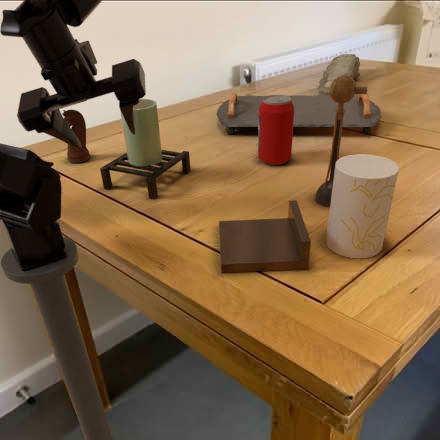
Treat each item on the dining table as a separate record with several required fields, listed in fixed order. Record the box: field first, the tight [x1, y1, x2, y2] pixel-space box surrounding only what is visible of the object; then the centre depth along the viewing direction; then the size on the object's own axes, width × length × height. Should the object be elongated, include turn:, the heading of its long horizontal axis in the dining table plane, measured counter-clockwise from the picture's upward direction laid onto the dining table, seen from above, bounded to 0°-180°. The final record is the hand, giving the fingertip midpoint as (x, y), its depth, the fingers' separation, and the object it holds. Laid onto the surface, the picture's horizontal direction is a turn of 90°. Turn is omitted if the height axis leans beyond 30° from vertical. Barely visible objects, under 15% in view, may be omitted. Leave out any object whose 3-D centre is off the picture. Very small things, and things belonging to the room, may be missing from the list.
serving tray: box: [216, 92, 382, 136], centre depth 112 cm, size 39×23×6 cm, turn 84°
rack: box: [99, 149, 191, 200], centre depth 88 cm, size 13×11×4 cm
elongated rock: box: [317, 53, 361, 95], centre depth 135 cm, size 35×5×10 cm
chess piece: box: [61, 108, 91, 164], centre depth 96 cm, size 5×5×10 cm
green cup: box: [119, 98, 164, 166], centre depth 84 cm, size 6×6×10 cm
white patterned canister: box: [325, 153, 400, 259], centre depth 66 cm, size 8×8×12 cm
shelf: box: [218, 199, 312, 274], centre depth 68 cm, size 12×12×4 cm
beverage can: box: [257, 94, 294, 166], centre depth 91 cm, size 7×7×12 cm
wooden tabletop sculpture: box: [314, 75, 368, 208], centre depth 74 cm, size 6×5×20 cm
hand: (107, 140), depth 74 cm, fingers open, 9 cm apart
